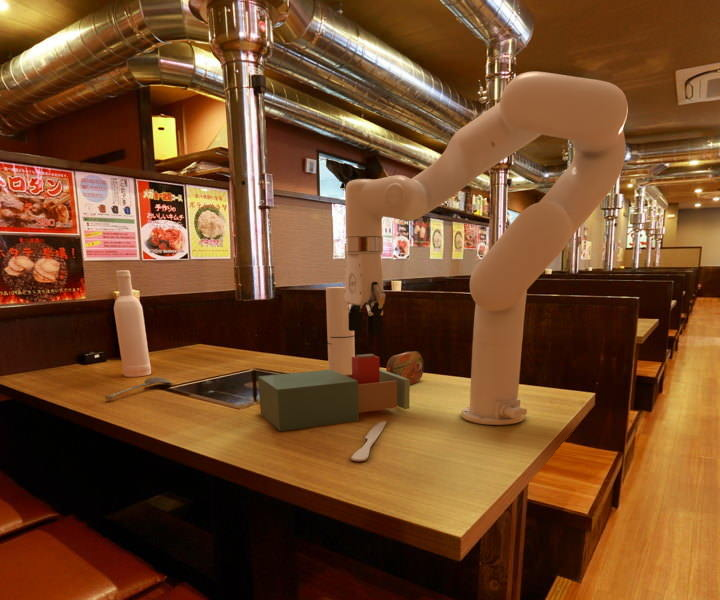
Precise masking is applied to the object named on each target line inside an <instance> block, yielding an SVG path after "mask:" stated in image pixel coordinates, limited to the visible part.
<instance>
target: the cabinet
mask: <svg viewBox="0 0 720 600" xmlns="http://www.w3.org/2000/svg"><path fill="white" fill-rule="evenodd" d="M257 379H258V381H257V382H258V395H259V407H260V408H259V409H260V415H261V416H262V417H263V418H265V419H266V421H268V422H269V423H270V424H271V425H272V426H274V428H276V429H277V430H278V432H285V431H292V430H300V429H301V430H302V429H307V428H314V427H322V426H323V427H324V426H330V425H336V424H344V423H345V424H346V423H352V422H359V420H360V417H359V415H360V414H359V413H358V381H357V380H354V379H352V378H350V377H347V376H345V375H343V374H341V373H338V372H336V371H334V370H329V369H322V370H311V371H300V372H291V373H282V374H281V373H280V374H269V375H259V376H257Z"/></svg>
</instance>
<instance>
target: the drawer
mask: <svg viewBox="0 0 720 600" xmlns="http://www.w3.org/2000/svg"><path fill="white" fill-rule="evenodd" d="M345 376H347V377H350V378H352V374H347V375H345ZM410 389H411V385H410V379H407V378H404V377H401V376H399V375H396V374H393V373H390V372H387V371H386V369H385V370H384V369H381V368H380V382H376V383H367V384H358V413H366V412H367V413H368V412H373V411H374V412H375V411H382V410H390V409H397V408H398V407H399V408H401V409H403V410H409V409H410V396H411V395H410V391H411V390H410Z"/></svg>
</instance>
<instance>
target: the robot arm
mask: <svg viewBox="0 0 720 600" xmlns="http://www.w3.org/2000/svg"><path fill="white" fill-rule="evenodd" d="M628 108H629V106H628V100H627V97H626V95H625V93H624V91H623V90H622V89H620V88H619V86H617V85H615V84H613V83H611V82H609V81H605V80H601V79H593V78H587V77H579V76H574V75H573V76H572V75H565V74H559V73H552V72H545V71H533V70H532V71H526V72H523V73H520V74H517V75H516V76H515V77H513V78H512V79H510V81H509V82H508V83H507V85H506V86H505V87H504V89H503V91H502V93H501V96H500V101H499V102H497V103H495V104H494V105H493V106H491V107H490V108H489V109H487V110H486V111H484V112H483V113H482V114H480V115H479V116H477V117H475V118H474V119H472V120H471V121H470V122H469V123H467V124H465V125H464V126H463V127H460V128H459V129H458V130H457V131H456V132H455V133H454V134H453V135H452V137H451V139H450V141H448V144H447V146H446V148H445V150H444V151H443V152H442V154H441V155H440V156H439V157H438V158H437V159H436V160H435V161H434V162H433V163H431V164H430V165H429V166H428V167H426V168H425V169H424V170H422V171H421V172H419V173H418V174H416V175H415V176H413V177H412V178H410V177H408V176H405V175H402V174H401V175H400V174H396V175H391V176H386V177H381V178H377V179H371V178H357V179H352V180H349V181H348V182H347V183H346V185H345V188H344V189H345V191H344V193H345V196H344V198H345V200H344V201H345V202H344V203H345V256H346V262H345V271H344V287H345V301H346V302H347V303H348V321H349V330H350V331H354V332H356V331H357V332H359V331H363V330H364V311H362V309H363V307H364V305H365V308H366V310H367V313H368V315H366V336H368V337H375V336H382V335H383V315H384V308H385V300H386V293H385V292H384V272H383V259H382V255H384V218H391V219H394V220H395V219H396V220H401V221H405V222H412V221H416V220H418V219H420V218H422V217H424V216H425V215H427V214H429V213H430V212H432V211H433V210H435V209H437V207H440V206H441V205H442V204H444V203H446V202H447V201H448V200H450V199H451V198H453V197H454V196H455V195H457V194H458V193H459V192H460V191H461V190H463V189H464V188H466V187H468V185H470V184H471V183H472V182H473V181H474V180H476V179H477V178H478V177H480V176H481V175H482V174H484V173H485V172H487V171H488V170H490V169H491V168H493V167H494V166H497V164H499V163H500V162H502V161H504V160H505V159H506V158H508V157H510V156H511V155H513V154H514V153H516V152H518V151H520V150H521V149H522V148H524V147H525V146H527V145H529V144H530V143H532V142H533V141H535V140H536V139H537V138H539V137H540V136H548V137H553V138H558V139H564V140H569V141H570V142H571V144H572V147H573V149H574V154H573V157H572V160H571V163H570V164H569V166H568V167H567V168H566V170H565V171H564V172H563V173H561V175H560V176H559V177H558V178H557V180H556V181H555V183H554V184H553V185H552V186H551V188H550V189H549V190H548V191H547V192H546V193H545V195H544V196H542V198H541V199H540V200H539V202H536V203H533V204H531V205H528V206H527V207H526V208H524V209H523V210H522V211H521V212H520V213H519V214H518V215H517V216H516V218H514V220H513V221H512V222H511V223H510V224H509V226H508V227H507V228H506V229H505V230H504V232H503V233H502V234H501V236H499V237H498V239H497V240H496V241H495V243H494V244H493V245H492V246H490V247H491V248H489V250H488V251H487V252H486V253H485V254H484V255H483V257H482V258H481V259H480V261H478V263H477V264H476V266H475V267H474V268H473V270H472V273H471V275H470V278H469V293H470V295H471V298H472V299H473V301H474V303H475V304H474V305H475V306H474V318H473V331H472V347H471V348H472V349H471V367H470V371H471V373H470V392H469V393H470V394H469V406H468V407H464V408H463V409H462V410H461V417H462V419H464V420H466V421H468V422H470V423H475V424H480V425H490V426H506V425H514V424H517V423H521V422H523V421H524V419H525V416H526V415H527V413H528V410H527V408H525V407H523V406H522V407H521V398H519V388H520V387H519V386H520V374H521V362H522V361H521V359H522V350H523V349H522V348H523V337H524V326H525V325H524V323H525V313H526V303H527V293H528V289H530V287H531V286H532V285H533V284H534V283H535V282H536V281H537V279H538V278H539V277H540V276H541V275H542V274H543V273H544V272H545V270H546V269H547V268H548V267H549V266H550V265H551V264H552V263H553V262H554V261H555V260H556V258H557V257H558V256H559V255H560V254H561V253H562V252H563V250H564V249H565V248H566V247H567V245H568V244H569V241H570V240H571V238H572V237H573V236H574V235H575V234H576V233H577V231H579V229H580V228H581V227H582V226H583V224H584V223H586V221H587V220H588V219H589V218H590V216H591V215H592V214H593V213H594V211H595V210H596V209H597V208H598V207H599V206H600V204H601V203H602V202H603V201H604V200H605V198H606V197H607V196H608V195H609V194H610V192H611V191H612V190H613V188H614V187H615V185H616V183H617V181H618V179H619V178H620V176H621V173H622V170H623V168H624V164H625V157H626V152H627V151H626V146H627V145H626V137H625V133H624V126H625V123H626V121H627V117H628V111H629V109H628Z"/></svg>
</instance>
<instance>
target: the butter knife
mask: <svg viewBox="0 0 720 600" xmlns="http://www.w3.org/2000/svg"><path fill="white" fill-rule="evenodd" d="M387 422H388V420H387V421H385V420H383V421H379V422H378V423H376V424H375V425H374V426H373V427H372V428H370V430H369V431H368V433H367V434H366V435H365V437H364V439H366V440H367V441H366V442H365V443H364V444H363V446H361V447H360V448H359V449H358V450H357V451H355V452H354V453H353V454H352V455H351V457H350V459H351V461H353V462H358V463H359V462H365V461H366V460H367V459H368V458H369V456H370V450H371V448H372V446H373V444H374V443H375V442H376V440H377V439H378V437H379V436H380V434H381V433H382V432H383V430H384V429H385V426H386V425H387Z"/></svg>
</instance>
